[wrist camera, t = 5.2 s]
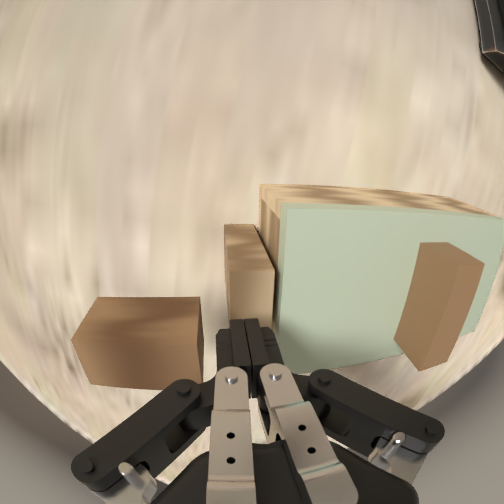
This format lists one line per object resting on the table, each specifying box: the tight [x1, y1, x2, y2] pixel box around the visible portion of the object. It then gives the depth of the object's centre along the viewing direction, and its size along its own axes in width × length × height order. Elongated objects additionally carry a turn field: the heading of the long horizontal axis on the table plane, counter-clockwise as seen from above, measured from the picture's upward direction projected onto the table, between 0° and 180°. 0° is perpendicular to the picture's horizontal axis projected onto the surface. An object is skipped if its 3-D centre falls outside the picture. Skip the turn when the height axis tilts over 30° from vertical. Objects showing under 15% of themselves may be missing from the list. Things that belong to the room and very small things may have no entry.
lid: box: [273, 203, 504, 374], centre depth 17 cm, size 22×12×6 cm, turn 89°
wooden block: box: [71, 297, 204, 390], centre depth 13 cm, size 6×3×4 cm, turn 89°
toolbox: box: [224, 184, 496, 331], centre depth 22 cm, size 25×12×10 cm, turn 89°
